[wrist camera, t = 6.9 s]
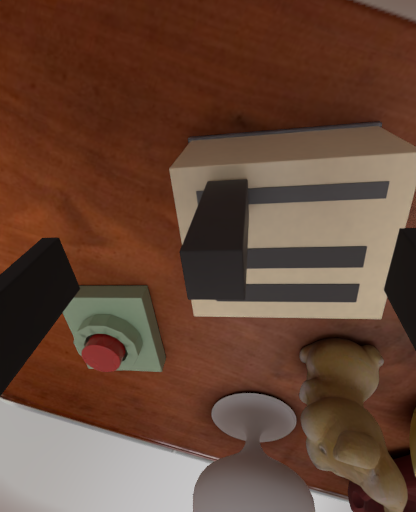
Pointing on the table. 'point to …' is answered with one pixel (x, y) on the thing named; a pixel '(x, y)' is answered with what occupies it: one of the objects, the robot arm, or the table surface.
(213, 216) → the toaster slider
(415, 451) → the flower pot
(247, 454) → the chalice
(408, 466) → the ashtray
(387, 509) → the figurine
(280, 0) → the table surface
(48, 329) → the robot arm
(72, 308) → the control block
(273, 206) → the toaster
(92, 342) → the button
